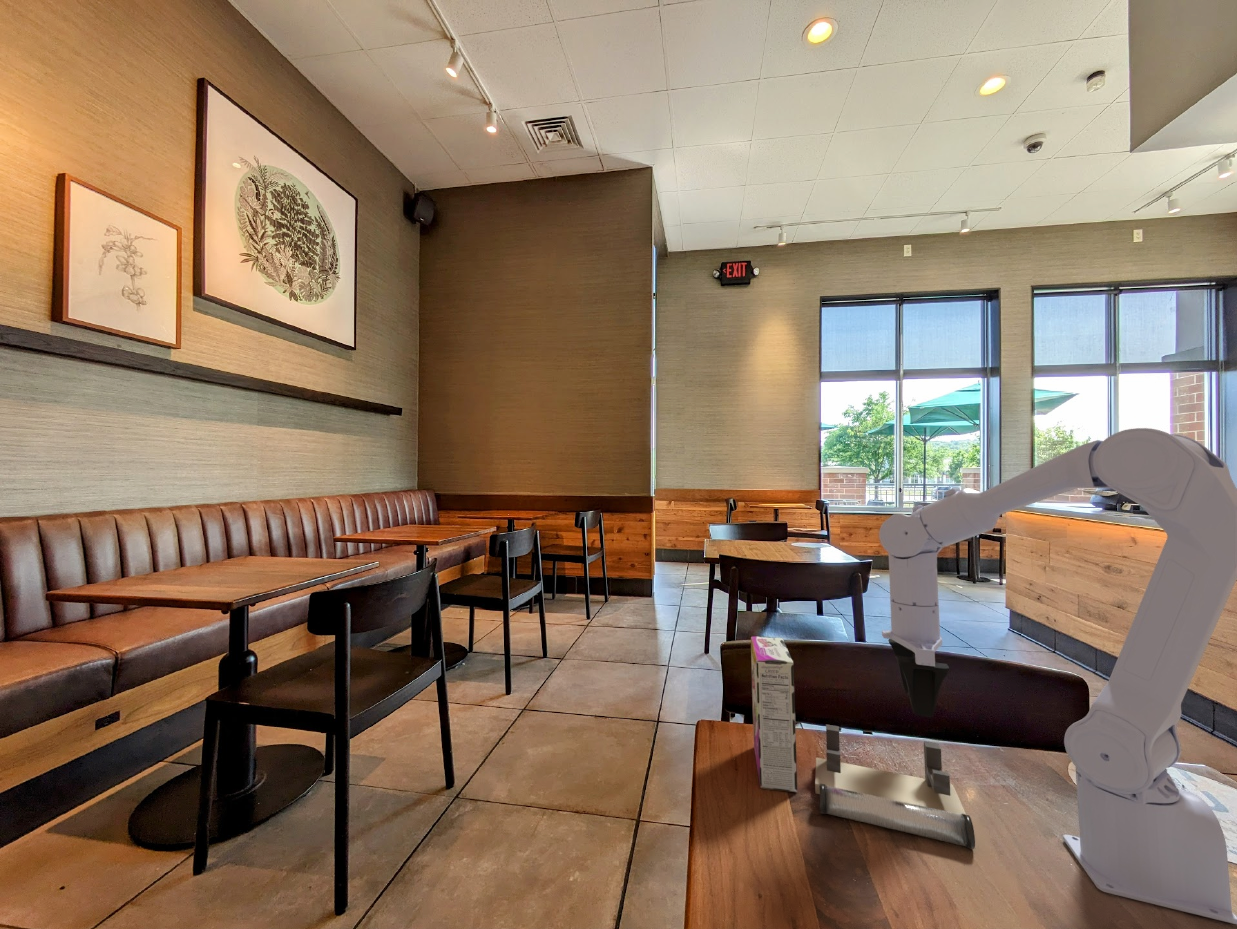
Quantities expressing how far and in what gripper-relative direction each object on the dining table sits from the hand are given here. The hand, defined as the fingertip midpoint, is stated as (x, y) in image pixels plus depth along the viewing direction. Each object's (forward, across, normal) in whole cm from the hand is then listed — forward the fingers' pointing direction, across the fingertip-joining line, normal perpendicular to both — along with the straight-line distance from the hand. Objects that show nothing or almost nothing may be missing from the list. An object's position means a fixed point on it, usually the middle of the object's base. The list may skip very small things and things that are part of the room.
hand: (918, 703), depth 66 cm
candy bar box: (+10, +6, -18) cm, 22 cm away
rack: (+9, +6, -5) cm, 12 cm away
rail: (+8, +13, -5) cm, 16 cm away
